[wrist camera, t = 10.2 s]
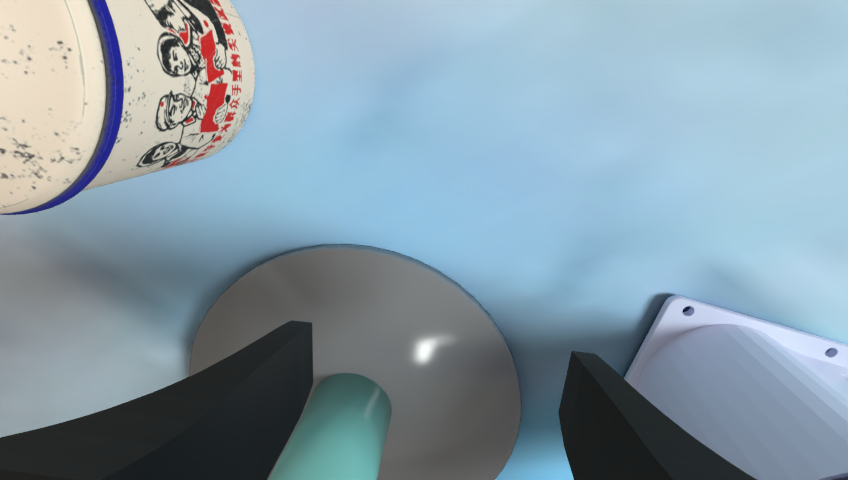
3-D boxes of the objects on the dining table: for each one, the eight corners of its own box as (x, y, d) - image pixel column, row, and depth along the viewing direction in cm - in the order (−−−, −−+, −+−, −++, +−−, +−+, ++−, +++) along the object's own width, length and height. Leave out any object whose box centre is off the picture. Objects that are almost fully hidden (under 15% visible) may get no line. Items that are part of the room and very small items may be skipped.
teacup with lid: (250, 189, 21) (7, 302, 10) (66, 135, 21) (-387, 187, 10) (291, -103, 17) (-46, -480, 6) (63, -172, 16) (-732, -692, 6)
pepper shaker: (398, 384, 22) (365, 533, 15) (383, 447, 24) (346, 612, 16) (316, 364, 22) (241, 503, 15) (306, 429, 24) (234, 585, 16)
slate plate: (570, 302, 21) (575, 312, 20) (462, 545, 27) (462, 562, 26) (217, 200, 21) (205, 205, 20) (187, 467, 27) (177, 481, 26)
